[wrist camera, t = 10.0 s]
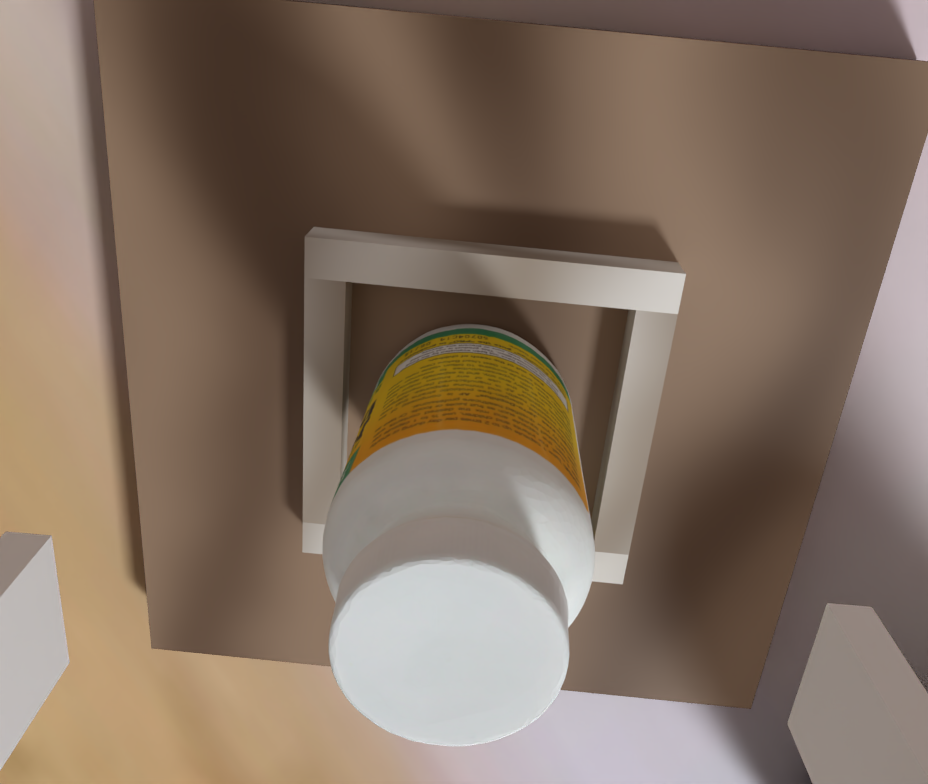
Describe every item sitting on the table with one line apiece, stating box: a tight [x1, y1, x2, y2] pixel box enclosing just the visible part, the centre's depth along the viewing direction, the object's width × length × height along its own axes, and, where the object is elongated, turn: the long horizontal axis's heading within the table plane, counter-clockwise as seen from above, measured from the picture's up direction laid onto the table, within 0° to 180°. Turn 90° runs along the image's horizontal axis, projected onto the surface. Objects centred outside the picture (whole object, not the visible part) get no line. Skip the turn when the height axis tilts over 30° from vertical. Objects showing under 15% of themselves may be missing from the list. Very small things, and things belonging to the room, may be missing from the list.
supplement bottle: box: [323, 324, 595, 746], centre depth 18 cm, size 5×5×10 cm
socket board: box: [94, 0, 928, 709], centre depth 23 cm, size 19×19×2 cm
